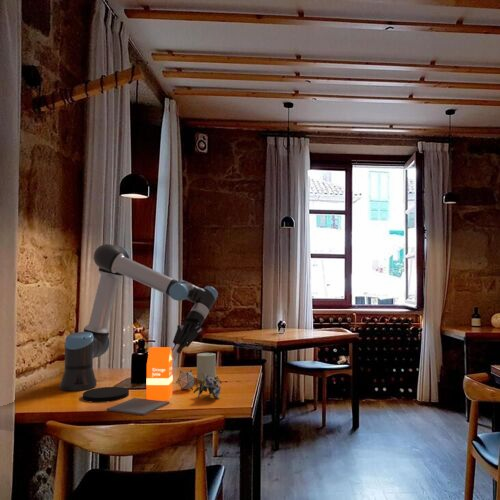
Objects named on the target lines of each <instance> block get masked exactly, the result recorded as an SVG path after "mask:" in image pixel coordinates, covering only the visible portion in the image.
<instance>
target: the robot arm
mask: <svg viewBox="0 0 500 500" xmlns="http://www.w3.org/2000/svg"><path fill="white" fill-rule="evenodd" d="M93 253H94V254H93V261H94V263H95V265H96V266H97V267H98V273H99V275H100V277H99V281H98V284H97V285H98V286H97V288H96V293H95V298H94V300H93V305H92V310H91V313H90V317H89V321H88V323H87V325H85V326H84V328H83V331H78V332H73V333H70V334H68V335H67V336H66V337H65V342H64V371H63V375H62V378H61V381H60V383H59V389H60V390H61V391H64V390H65V391H66V392H76V391H77V392H78V391H85V390H86V391H87V390H91V389H95V388H97V380H98V379H97V378H96V374H95V370H94V369H93V368H94V363H93V362H94V358H99V357H102V355H104V354H105V353H106V352H107V351H108V350H109V348H110V344H111V338H110V337H109V335H110V330H109V328H108V325H109V322H110V321H109V320H110V316H111V314H112V313H111V312H112V309H113V305H114V301H115V297H116V293H117V288H118V284H119V281H120V279H121V278H122V277H123V276H125V277H127V278H129V279H131V280H134V281H136V282H138V283H140V284H143V285H144V286H146V287H150V288H152V289H153V290H156V291H158V292H160V293H163V294H165V295H166V296H168V297H170V298H171V299H172V300H174V301H178V302H180V301H181V302H182V301H185V300H186V301H189V302H191V303H194V304H193V306H192V307H191V310H190V311H189V313H188V314H187V316H186V319H185V322H183V324H182V325H180V324H178V325H177V326H176V327H177V329H176V332H175V335H174V337H173V340H172V343H173V345H174V346H173V348H171V353H172V359H173V361H174V362H175V361H176V359H177V357H178V356H179V354H181V353H182V351H183V350H184V348H188V347H190V346H191V344H193V342H194V341H195V339H197V337H198V336H199V334H201V333H202V332H203V329H202V328H201V326H202V325H203V324H204V321H205V320H206V318H207V317H208V314H209V313H210V311H211V309H212V308H213V306H214V304H215V303H216V301H217V298H218V296H219V292H218V291H217V289H216V288H214V287H213V286H208V285H206V286H205V287H204V288H202V287H199V286H197V285H195V284H193V283H191V282H188V281H187V280H183V279H178V280H176V279H174V278H172V277H170V276H167V275H166V274H163V273H161V272H158V271H157V270H154V269H153V268H150V267H148V266H146V265H144V264H141V263H139V262H137V261H135V260H133V259H131V255H130V253H129V251H128V250H127V249H126V248H124V247H122V246H119V245H114V244H109V243H107V244H101V245H99V246H98V247H97V248H96V249H95V250H94V252H93Z"/></svg>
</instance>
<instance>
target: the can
mask: <svg viewBox="0 0 500 500" xmlns="http://www.w3.org/2000/svg"><path fill="white" fill-rule="evenodd" d="M216 355H217V354H216V353H213V352H201V353H196V378H197V379H196V380H197V381H200V382H201V380H203V382H204V381H205V379H204V377H203V373H204V375H208V376H211V377H212V378H214V377H215V376H216V377H217V371H216V369H217V367H216V366H217V363H216V361H217V360H216V357H217V356H216Z"/></svg>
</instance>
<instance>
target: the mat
mask: <svg viewBox="0 0 500 500" xmlns="http://www.w3.org/2000/svg"><path fill="white" fill-rule="evenodd" d="M169 404H170V401H158V400H149V399H146V398H141V397H139V398H138V397H133V398H131V399H128V400H126V401H123V402H120V403H118V404H116V405H112V406H110V407H108V408H107V409H106V410H107V411H109V412H116V413H124V414H125V413H126V414H132V415H141V416H145V415H148V414H150V413H152V412H154V411H157V410H158V409H161V408H163V407H164V406H167V405H169Z"/></svg>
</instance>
